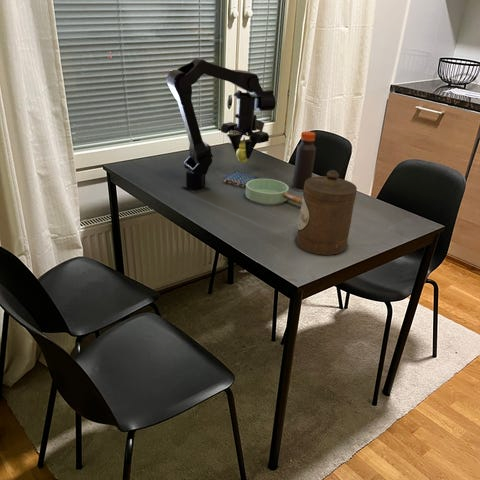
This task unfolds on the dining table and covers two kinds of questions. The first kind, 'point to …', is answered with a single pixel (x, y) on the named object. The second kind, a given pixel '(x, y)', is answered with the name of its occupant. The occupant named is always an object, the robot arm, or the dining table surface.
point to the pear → (242, 152)
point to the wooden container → (326, 214)
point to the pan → (266, 191)
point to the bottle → (304, 160)
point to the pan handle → (292, 198)
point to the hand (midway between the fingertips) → (242, 156)
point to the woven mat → (239, 179)
